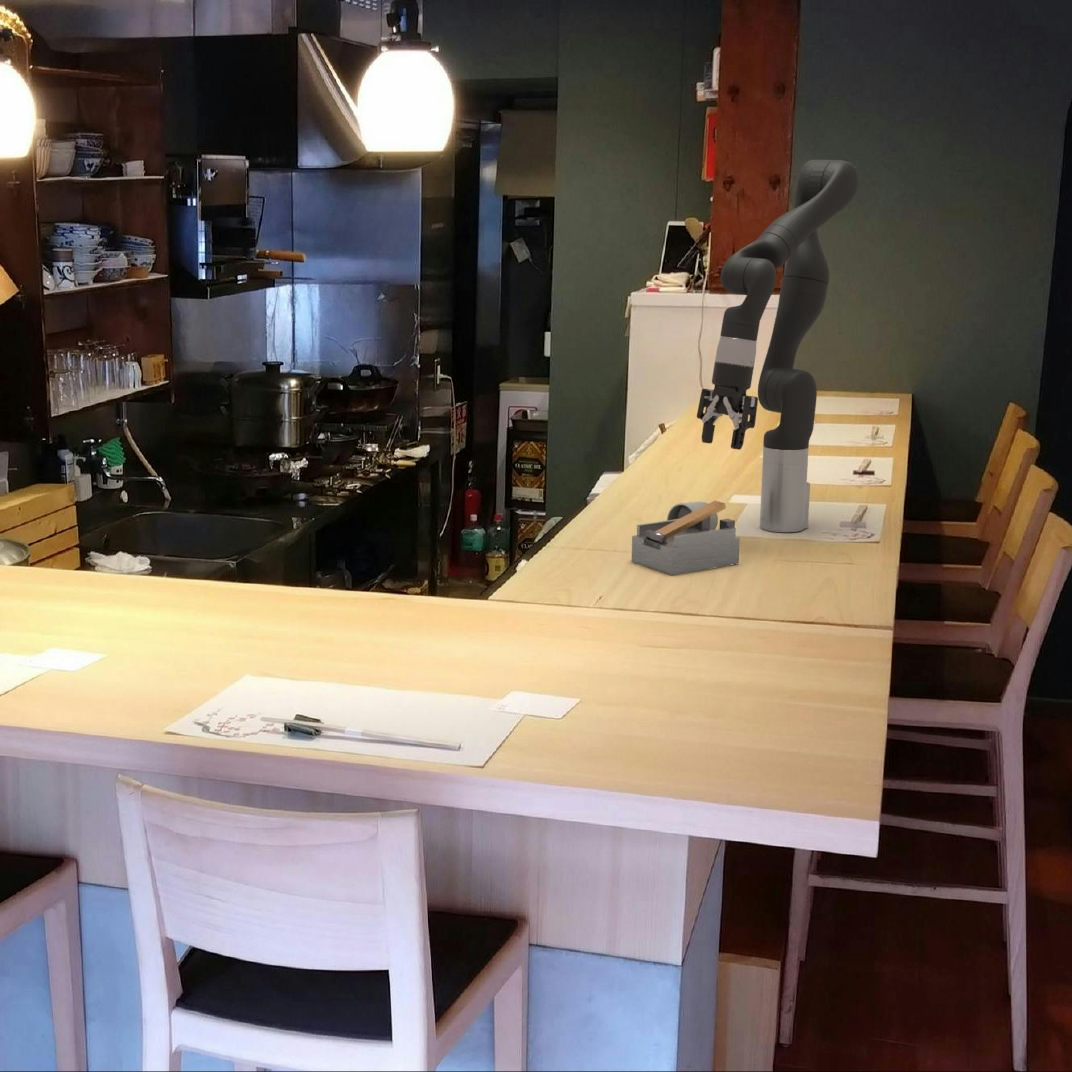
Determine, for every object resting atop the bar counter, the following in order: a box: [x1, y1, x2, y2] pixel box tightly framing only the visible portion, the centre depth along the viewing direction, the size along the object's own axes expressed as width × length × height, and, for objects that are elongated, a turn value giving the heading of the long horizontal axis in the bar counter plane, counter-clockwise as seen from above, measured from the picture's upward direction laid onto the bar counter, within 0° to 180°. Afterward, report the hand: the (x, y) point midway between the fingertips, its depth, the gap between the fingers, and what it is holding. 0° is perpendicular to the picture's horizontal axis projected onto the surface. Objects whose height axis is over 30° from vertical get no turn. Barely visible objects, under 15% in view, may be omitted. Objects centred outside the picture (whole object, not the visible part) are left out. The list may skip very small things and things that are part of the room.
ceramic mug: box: [666, 501, 719, 530], centre depth 273 cm, size 11×8×8 cm
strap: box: [645, 500, 727, 543], centre depth 251 cm, size 17×4×2 cm, turn 123°
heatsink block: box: [631, 517, 741, 576], centre depth 252 cm, size 16×12×8 cm
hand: (721, 445), depth 261 cm, fingers open, 8 cm apart
